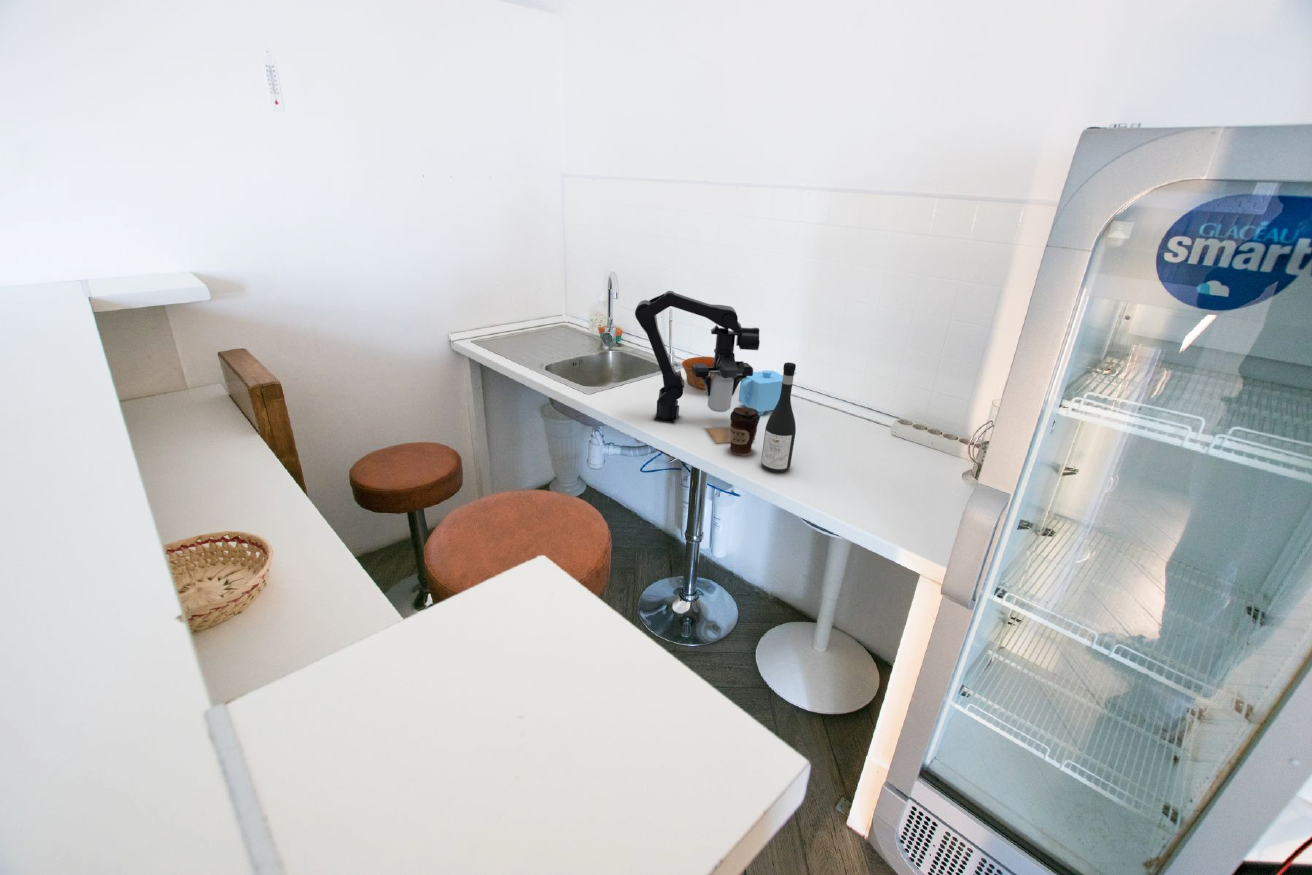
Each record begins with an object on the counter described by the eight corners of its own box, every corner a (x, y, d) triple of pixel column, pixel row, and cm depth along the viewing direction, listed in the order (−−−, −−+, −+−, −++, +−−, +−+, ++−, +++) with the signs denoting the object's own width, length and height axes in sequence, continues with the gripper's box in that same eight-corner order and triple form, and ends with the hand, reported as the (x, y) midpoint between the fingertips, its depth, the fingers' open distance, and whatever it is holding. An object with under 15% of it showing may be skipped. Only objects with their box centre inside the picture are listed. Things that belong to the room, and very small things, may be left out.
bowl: (672, 381, 225) (674, 356, 221) (723, 378, 231) (725, 354, 227) (691, 400, 207) (693, 373, 203) (745, 396, 213) (748, 370, 209)
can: (728, 405, 191) (732, 370, 186) (731, 413, 184) (736, 378, 180) (705, 404, 191) (709, 369, 186) (708, 412, 184) (712, 376, 179)
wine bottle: (785, 476, 156) (801, 370, 143) (757, 469, 159) (770, 365, 147) (792, 465, 162) (808, 362, 150) (765, 458, 165) (779, 357, 153)
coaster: (716, 443, 173) (716, 442, 173) (706, 429, 183) (706, 428, 183) (750, 441, 176) (750, 441, 176) (739, 427, 185) (739, 427, 185)
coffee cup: (745, 460, 163) (750, 418, 158) (720, 452, 168) (724, 410, 163) (760, 451, 170) (765, 410, 165) (735, 443, 174) (740, 402, 169)
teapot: (748, 417, 193) (753, 378, 188) (731, 406, 203) (735, 368, 197) (801, 410, 202) (807, 372, 197) (782, 399, 211) (787, 363, 206)
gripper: (702, 356, 170) (698, 405, 177) (762, 355, 174) (756, 403, 180) (693, 345, 180) (689, 392, 187) (749, 345, 184) (744, 391, 190)
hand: (720, 395), depth 186 cm, fingers closed on can, 7 cm apart
